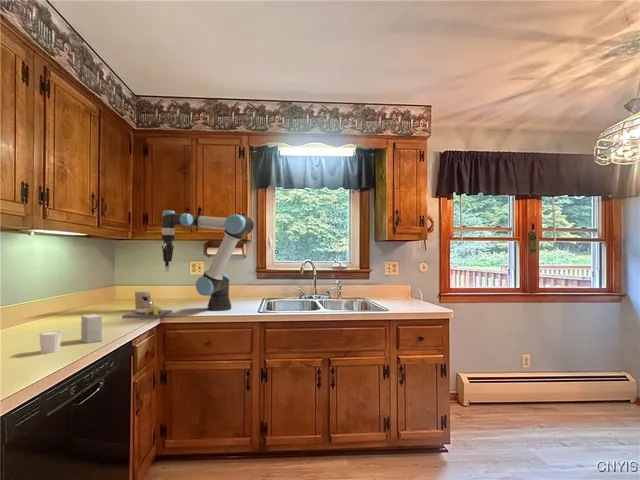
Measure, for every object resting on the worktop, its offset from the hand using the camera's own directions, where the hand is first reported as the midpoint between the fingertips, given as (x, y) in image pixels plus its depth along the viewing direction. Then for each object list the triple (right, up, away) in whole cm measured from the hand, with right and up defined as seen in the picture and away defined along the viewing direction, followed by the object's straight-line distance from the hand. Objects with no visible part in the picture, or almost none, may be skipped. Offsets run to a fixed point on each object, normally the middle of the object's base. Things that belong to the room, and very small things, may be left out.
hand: (167, 271), depth 238 cm
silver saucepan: (-1, -22, -21) cm, 31 cm away
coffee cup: (-14, -24, -3) cm, 28 cm away
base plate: (-3, -24, -19) cm, 31 cm away
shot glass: (-5, -22, -96) cm, 99 cm away
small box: (0, -23, -80) cm, 83 cm away
